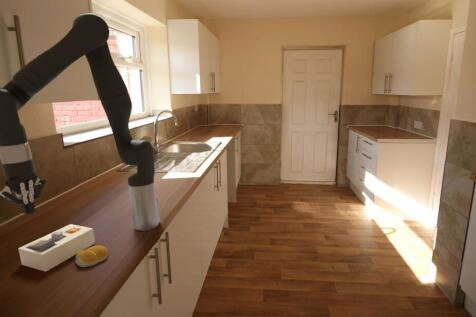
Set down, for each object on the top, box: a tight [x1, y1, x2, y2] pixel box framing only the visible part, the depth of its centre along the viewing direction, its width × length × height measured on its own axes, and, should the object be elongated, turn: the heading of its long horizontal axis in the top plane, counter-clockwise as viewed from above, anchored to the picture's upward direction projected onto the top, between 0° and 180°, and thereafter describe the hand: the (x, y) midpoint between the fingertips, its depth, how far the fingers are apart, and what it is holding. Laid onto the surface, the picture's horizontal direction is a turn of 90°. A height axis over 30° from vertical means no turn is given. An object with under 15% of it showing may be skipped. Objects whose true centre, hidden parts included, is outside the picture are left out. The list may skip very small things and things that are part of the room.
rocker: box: [28, 240, 55, 250], centre depth 95 cm, size 4×7×1 cm, turn 66°
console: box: [17, 223, 96, 272], centre depth 100 cm, size 18×11×6 cm, turn 156°
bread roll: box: [75, 244, 109, 268], centre depth 96 cm, size 8×9×4 cm
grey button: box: [51, 231, 64, 242], centre depth 100 cm, size 3×3×2 cm
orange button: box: [67, 228, 78, 234], centre depth 105 cm, size 3×3×2 cm
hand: (29, 214), depth 94 cm, fingers closed
